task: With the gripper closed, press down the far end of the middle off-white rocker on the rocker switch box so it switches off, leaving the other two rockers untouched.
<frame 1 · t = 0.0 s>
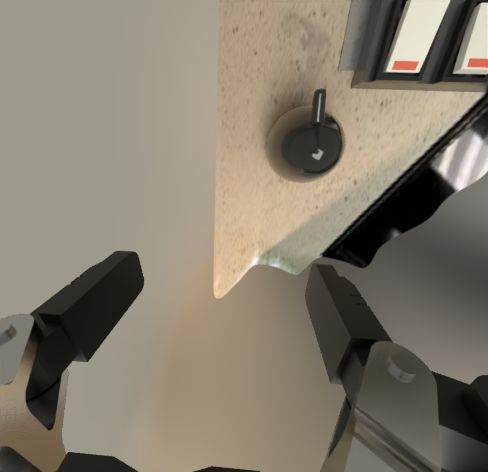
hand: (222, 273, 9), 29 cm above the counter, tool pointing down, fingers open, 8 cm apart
rocker 2: (413, 38, 22), point 5 cm above the counter, hinge at 10.0°
pump dispenser: (295, 145, 33), on the counter
rocker switch box: (455, 35, 26), on the counter
middle rocker: (484, 40, 22), point 5 cm above the counter, hinge at -10.0°
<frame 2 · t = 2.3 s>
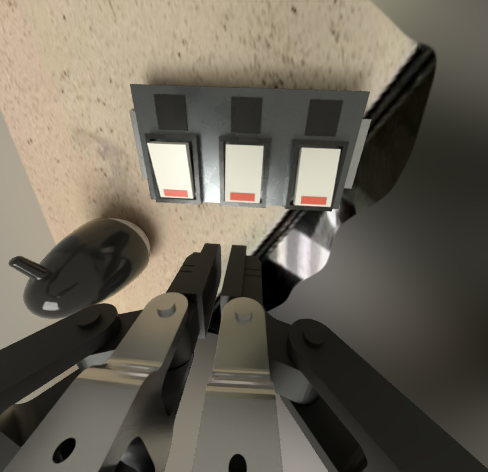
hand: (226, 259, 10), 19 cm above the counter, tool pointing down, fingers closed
rocker 2: (173, 171, 22), point 5 cm above the counter, hinge at 10.0°
pump dispenser: (129, 237, 32), on the counter
rocker 1: (315, 178, 21), point 5 cm above the counter, hinge at -10.0°
rocker switch box: (246, 151, 25), on the counter
middle rocker: (243, 175, 22), point 5 cm above the counter, hinge at -10.0°
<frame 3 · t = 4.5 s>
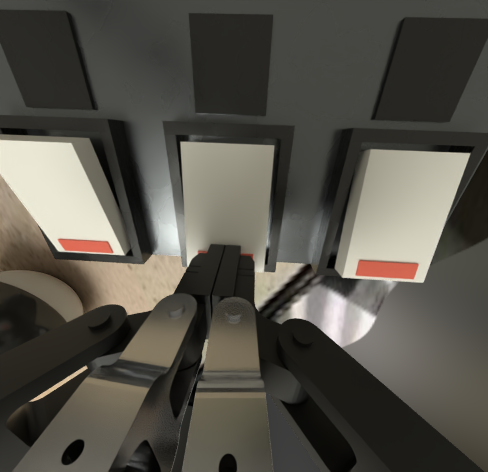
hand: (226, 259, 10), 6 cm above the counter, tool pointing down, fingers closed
rocker 2: (70, 203, 10), point 5 cm above the counter, hinge at 10.0°
pump dispenser: (53, 291, 20), on the counter
rocker 1: (392, 220, 9), point 5 cm above the counter, hinge at -10.0°
rocker switch box: (236, 155, 13), on the counter
middle rocker: (227, 211, 9), point 5 cm above the counter, hinge at -9.0°, touching gripper
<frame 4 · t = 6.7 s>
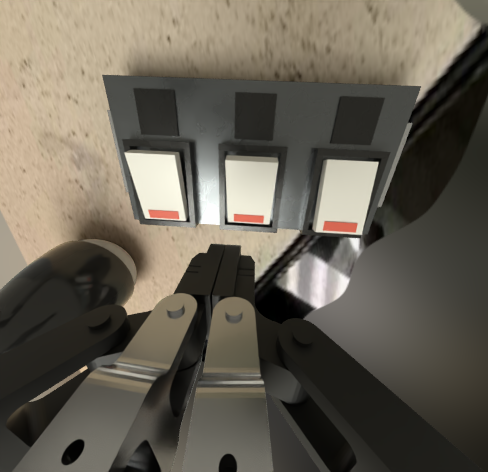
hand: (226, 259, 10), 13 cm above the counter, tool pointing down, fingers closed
rocker 2: (160, 188, 17), point 5 cm above the counter, hinge at 10.0°
pump dispenser: (113, 259, 27), on the counter
rocker 1: (343, 198, 16), point 5 cm above the counter, hinge at -10.0°
rocker switch box: (252, 161, 20), on the counter
middle rocker: (250, 193, 17), point 5 cm above the counter, hinge at 17.1°
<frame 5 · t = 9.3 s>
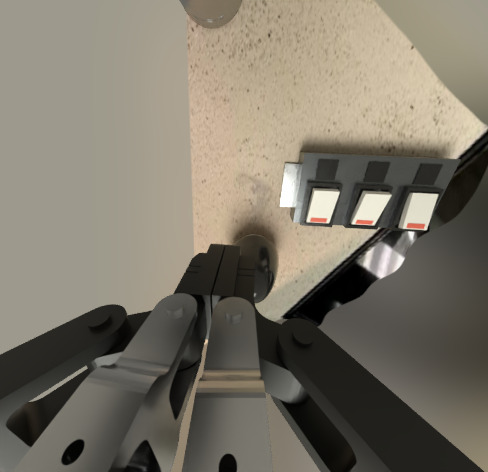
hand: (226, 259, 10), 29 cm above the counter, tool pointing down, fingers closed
rocker 2: (321, 206, 33), point 5 cm above the counter, hinge at 10.0°
pump dispenser: (253, 247, 43), on the counter
rocker 1: (417, 211, 32), point 5 cm above the counter, hinge at -10.0°
rocker switch box: (359, 189, 36), on the counter
middle rocker: (369, 209, 33), point 5 cm above the counter, hinge at 13.4°
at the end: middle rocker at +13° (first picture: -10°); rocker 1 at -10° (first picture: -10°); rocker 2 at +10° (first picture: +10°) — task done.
